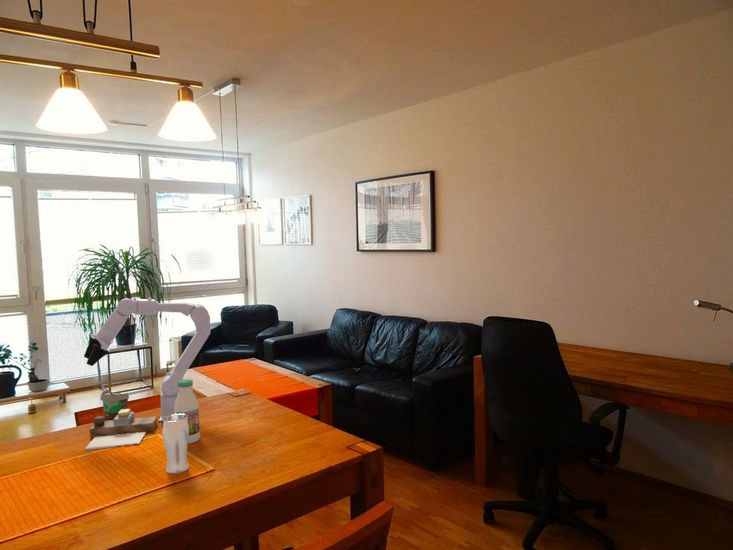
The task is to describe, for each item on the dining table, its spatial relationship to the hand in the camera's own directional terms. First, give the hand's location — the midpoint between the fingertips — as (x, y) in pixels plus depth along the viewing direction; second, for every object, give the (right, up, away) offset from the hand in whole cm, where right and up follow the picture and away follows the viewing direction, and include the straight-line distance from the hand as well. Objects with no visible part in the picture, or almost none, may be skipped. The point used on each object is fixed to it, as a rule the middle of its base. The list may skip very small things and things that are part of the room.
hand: (87, 361), depth 172 cm
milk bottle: (+40, -24, -12) cm, 48 cm away
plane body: (+14, -24, -1) cm, 28 cm away
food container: (+3, -24, +11) cm, 27 cm away
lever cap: (+14, -21, -2) cm, 25 cm away
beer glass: (+45, -25, -33) cm, 61 cm away
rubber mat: (+16, -25, -11) cm, 31 cm away
